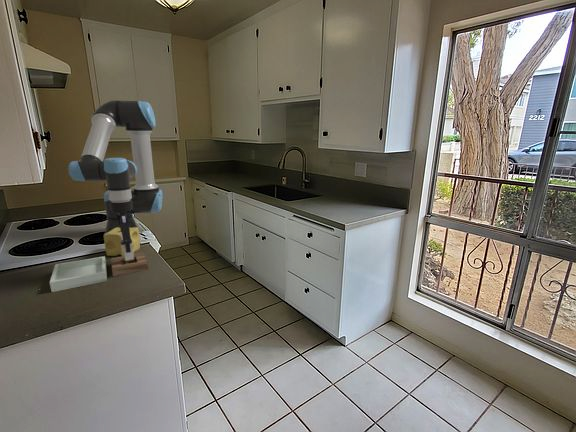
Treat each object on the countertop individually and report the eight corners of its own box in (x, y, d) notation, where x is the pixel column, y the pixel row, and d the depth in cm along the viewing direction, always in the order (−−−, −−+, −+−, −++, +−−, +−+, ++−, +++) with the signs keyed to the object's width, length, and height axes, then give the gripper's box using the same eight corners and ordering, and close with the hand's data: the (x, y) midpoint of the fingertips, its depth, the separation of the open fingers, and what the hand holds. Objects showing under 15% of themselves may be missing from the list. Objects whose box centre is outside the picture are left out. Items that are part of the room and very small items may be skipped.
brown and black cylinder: (123, 265, 122) (120, 240, 118) (134, 263, 123) (131, 238, 120) (124, 269, 118) (120, 243, 115) (135, 267, 120) (132, 241, 117)
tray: (57, 272, 115) (55, 264, 114) (106, 264, 123) (104, 256, 122) (51, 292, 102) (49, 282, 101) (107, 281, 109) (105, 272, 108)
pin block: (111, 264, 123) (111, 258, 122) (144, 258, 129) (143, 252, 128) (113, 276, 113) (112, 270, 112) (148, 269, 119) (147, 263, 118)
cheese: (129, 256, 130) (126, 234, 127) (104, 256, 130) (101, 234, 127) (141, 247, 140) (139, 227, 137) (118, 247, 140) (115, 226, 138)
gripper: (108, 194, 122) (115, 244, 128) (110, 209, 101) (118, 267, 107) (129, 193, 125) (135, 241, 131) (135, 206, 105) (142, 263, 111)
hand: (127, 253), depth 119 cm, fingers open, 13 cm apart
